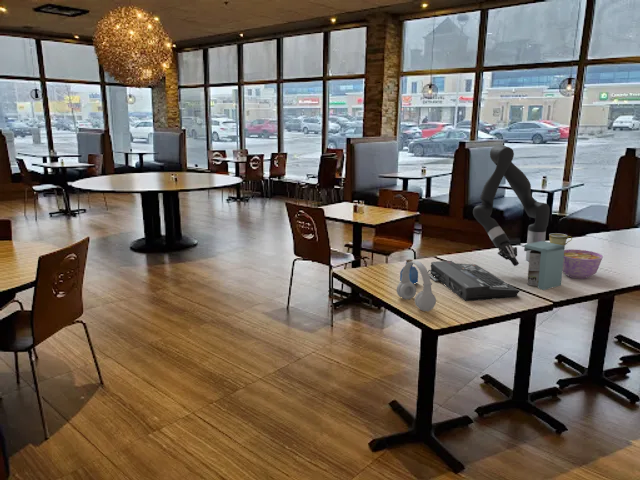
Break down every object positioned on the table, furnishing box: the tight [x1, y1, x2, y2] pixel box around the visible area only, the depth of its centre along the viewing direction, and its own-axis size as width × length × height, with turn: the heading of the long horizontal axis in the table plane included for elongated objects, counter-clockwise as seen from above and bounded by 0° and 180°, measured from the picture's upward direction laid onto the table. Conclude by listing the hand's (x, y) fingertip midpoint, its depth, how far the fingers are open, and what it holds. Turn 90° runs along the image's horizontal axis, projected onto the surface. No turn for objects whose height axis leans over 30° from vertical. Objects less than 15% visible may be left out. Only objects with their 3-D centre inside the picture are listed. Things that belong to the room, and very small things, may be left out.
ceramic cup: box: [548, 232, 573, 247], centre depth 292 cm, size 13×10×10 cm
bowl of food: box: [562, 249, 604, 280], centre depth 243 cm, size 20×20×12 cm
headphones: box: [396, 260, 437, 312], centre depth 209 cm, size 20×8×19 cm, turn 21°
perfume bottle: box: [399, 259, 419, 284], centre depth 238 cm, size 6×6×12 cm
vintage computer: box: [427, 260, 521, 302], centre depth 234 cm, size 43×29×8 cm
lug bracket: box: [523, 241, 566, 291], centre depth 231 cm, size 13×12×20 cm
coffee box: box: [526, 250, 541, 287], centre depth 234 cm, size 9×6×16 cm
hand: (516, 265), depth 245 cm, fingers closed
